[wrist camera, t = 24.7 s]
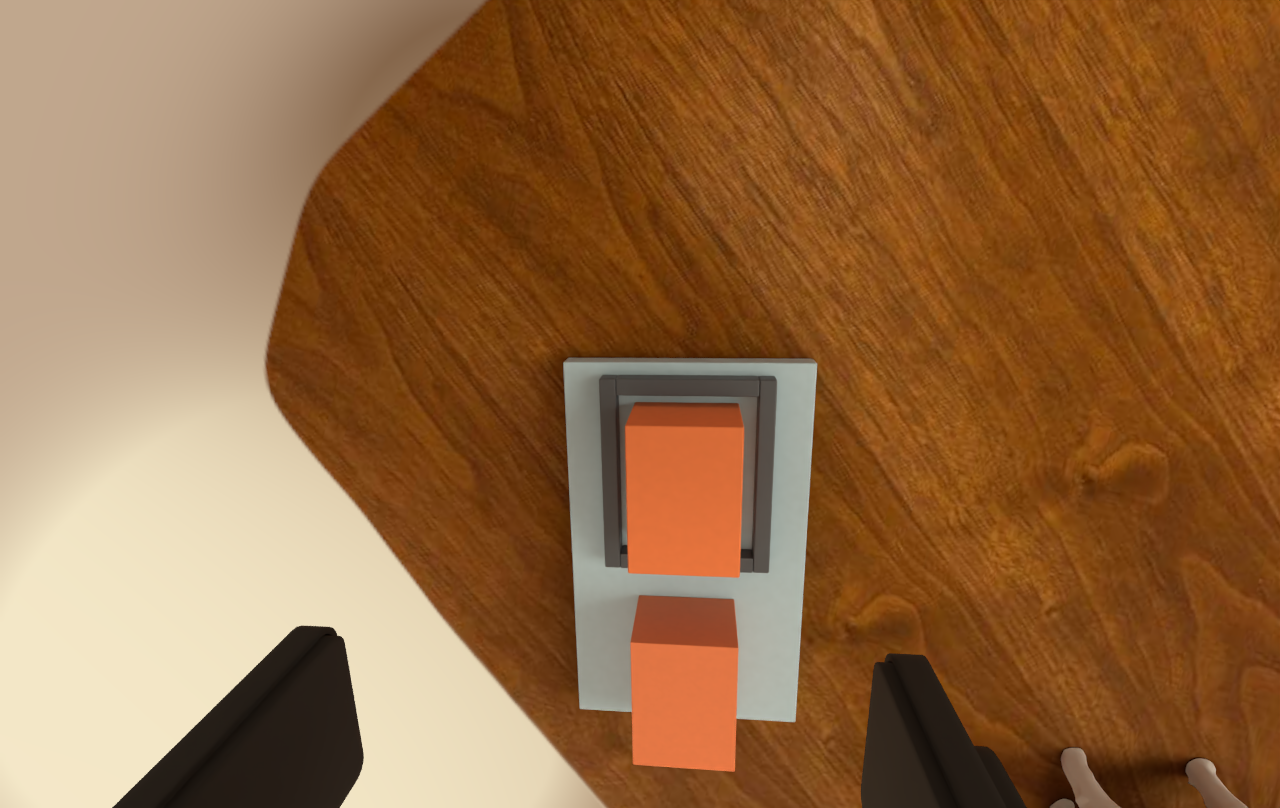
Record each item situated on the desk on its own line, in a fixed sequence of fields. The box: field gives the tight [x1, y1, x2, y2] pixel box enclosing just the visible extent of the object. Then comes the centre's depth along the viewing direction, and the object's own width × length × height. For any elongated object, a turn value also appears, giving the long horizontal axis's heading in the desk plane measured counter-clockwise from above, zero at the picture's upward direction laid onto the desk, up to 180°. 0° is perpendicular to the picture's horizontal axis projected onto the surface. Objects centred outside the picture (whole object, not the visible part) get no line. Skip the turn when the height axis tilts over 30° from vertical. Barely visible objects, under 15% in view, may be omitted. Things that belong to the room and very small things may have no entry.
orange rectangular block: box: [625, 402, 744, 578], centre depth 28 cm, size 5×7×4 cm
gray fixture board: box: [563, 358, 817, 772], centre depth 30 cm, size 12×20×5 cm, turn 1°
